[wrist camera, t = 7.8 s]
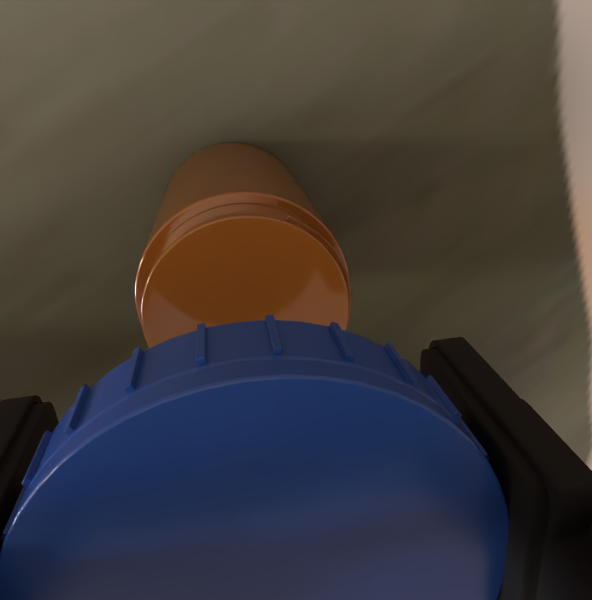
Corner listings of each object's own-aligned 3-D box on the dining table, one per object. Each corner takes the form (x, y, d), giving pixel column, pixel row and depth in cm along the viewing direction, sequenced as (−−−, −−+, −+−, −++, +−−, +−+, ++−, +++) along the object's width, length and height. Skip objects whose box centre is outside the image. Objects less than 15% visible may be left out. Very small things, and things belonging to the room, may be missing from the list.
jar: (260, 300, 25) (288, 442, 16) (138, 241, 23) (88, 363, 14) (328, 187, 23) (404, 272, 14) (202, 113, 22) (195, 155, 12)
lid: (480, 284, 7) (542, 332, 6) (457, 621, 10) (497, 707, 9) (-38, 350, 7) (-101, 422, 5) (84, 694, 9) (63, 802, 8)
